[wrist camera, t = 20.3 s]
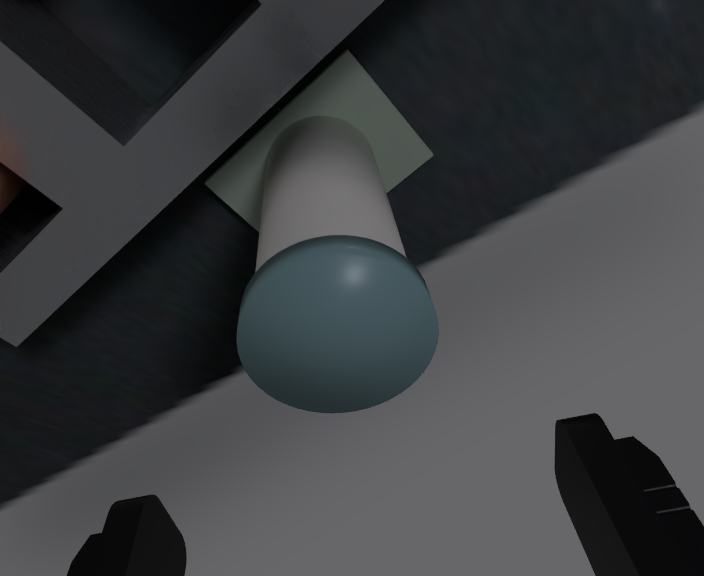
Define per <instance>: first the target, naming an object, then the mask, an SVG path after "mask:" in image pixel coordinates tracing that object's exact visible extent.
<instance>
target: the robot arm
mask: <svg viewBox="0 0 704 576" xmlns="http://www.w3.org/2000/svg"><path fill="white" fill-rule="evenodd" d="M555 475H556V480H557V484H558V488H559V491H560V494H561V497H562V499H563V502H564V504H565V507H566V509H567V511H568V514H569V516H570V518H571V521H572V523H573V525H574V527H575V529H576V532H577V534H578V537H579V539H580V541H581V543H582V546H583V548H584V550H585V553H586V555H587V557H588V559H589V562H590V564H591V566H592V569H593V571H594V573H595V575H596V576H704V526H703V525H702V523H701V521H700V520H699V518H698V517H697V515H696V514H695V512H694V511H693V510H691V509H690V506H689V503H688V501H687V500H686V498H685V497H684V495H683V494H682V492H681V491H680V489H679V488H677V487H676V484H675V481H674V480H673V478H672V477H671V475H670V473H669V472H668V470H667V469H666V467H665V466H664V464H663V463H662V461H661V460H660V458H659V457H658V456H657V455H656V454H655V453H653V452H652V451H651V450H650V449H648V448H647V447H646V446H645V445H643V444H642V443H641V442H640V441H638V440H637V439H636V438H635V437H633V436H632V437H627V438H621V439H616V440H614V438H613V437H612V435H611V433H610V432H609V430H608V428H607V426H606V425H605V423H604V421H603V420H602V418H601V417H600V416H599V415H598V414H596V413H593V414H588V415H583V416H577V417H572V418H566V419H561V420H557V421H556V426H555ZM185 568H186V547H185V542H184V539H183V536H182V534H181V533H180V531H179V530H178V528H177V527H176V525H175V523H174V522H173V520H172V518H171V517H170V515H169V514H168V512H167V511H166V509H165V508H164V506H163V504H162V503H161V501H160V500H159V498H158V497H157V496H156V495H147V496H142V497H136V498H131V499H126V500H121V501H117V502H115V503H114V504H113V505H112V506H111V508H110V510H109V513H108V516H107V519H106V522H105V525H104V528H103V531H102V533H98V534H93V535H90V536H89V538H88V539H87V541H86V542H85V544H84V545H83V546H82V548H81V549H80V551H79V552H78V554H77V555H76V556H75V558H74V559H73V561H72V563H71V565H70V568H69V571H68V574H67V576H184V575H185Z"/></svg>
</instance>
